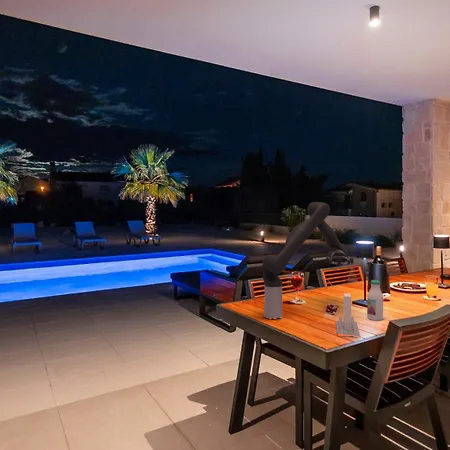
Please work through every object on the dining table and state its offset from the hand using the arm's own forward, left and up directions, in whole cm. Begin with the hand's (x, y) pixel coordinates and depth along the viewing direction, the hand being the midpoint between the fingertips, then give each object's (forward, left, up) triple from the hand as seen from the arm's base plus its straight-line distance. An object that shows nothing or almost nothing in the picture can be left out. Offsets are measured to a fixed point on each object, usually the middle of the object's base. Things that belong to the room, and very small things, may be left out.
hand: (339, 262), depth 206 cm
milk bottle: (+18, +5, -30) cm, 35 cm away
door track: (+3, -16, -30) cm, 34 cm away
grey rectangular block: (+3, -16, -29) cm, 33 cm away
